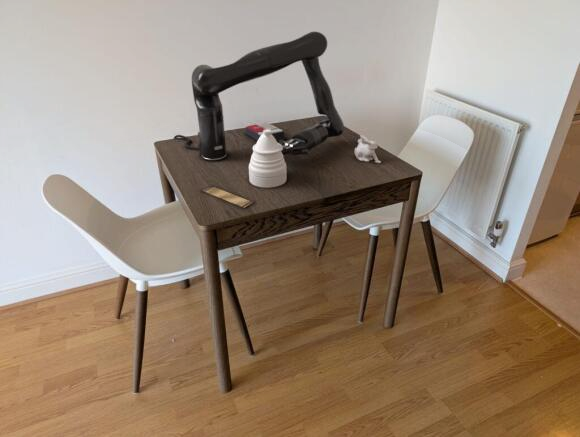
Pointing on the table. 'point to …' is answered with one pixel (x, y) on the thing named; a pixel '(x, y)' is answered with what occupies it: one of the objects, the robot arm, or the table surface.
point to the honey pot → (267, 162)
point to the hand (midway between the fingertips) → (278, 154)
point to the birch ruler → (228, 197)
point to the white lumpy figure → (366, 150)
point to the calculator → (257, 131)
